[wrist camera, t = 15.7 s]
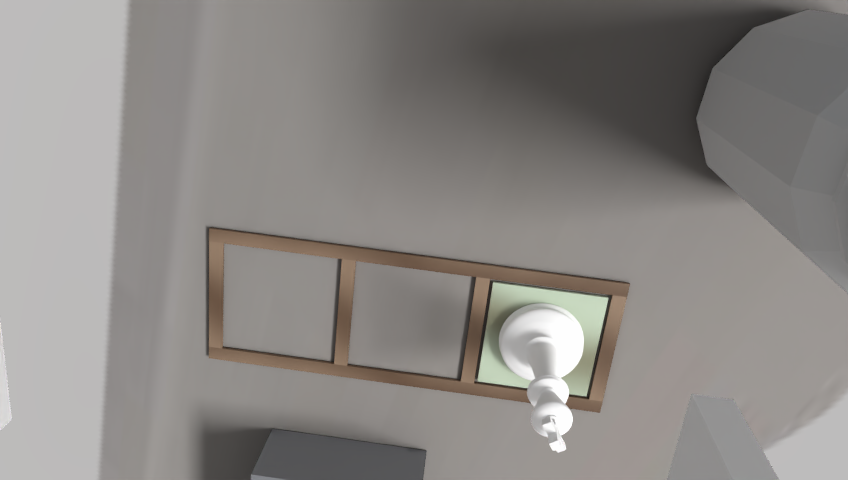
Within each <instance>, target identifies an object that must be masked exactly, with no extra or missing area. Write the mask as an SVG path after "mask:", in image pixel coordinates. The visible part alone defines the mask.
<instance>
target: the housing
mask: <svg viewBox="0 0 848 480" xmlns="http://www.w3.org/2000/svg"><path fill="white" fill-rule="evenodd" d="M425 459H426V450H419V449H412V448H405V447H398V446H391V445H384V444H377V443H370V442H363V441H356V440H349V439H342V438H335V437H328V436H321V435H314V434H307V433H300V432H293V431H286V430H279V429H272V431H271V433H270V435H269V437H268V439H267V441H266V443H265V446H264V448H263V450H262V452H261V454H260V456H259V459H258V461H257V463H256V465H255V467H254V469H253V471H252V474H251V480H423V475H424V467H425Z"/></svg>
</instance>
